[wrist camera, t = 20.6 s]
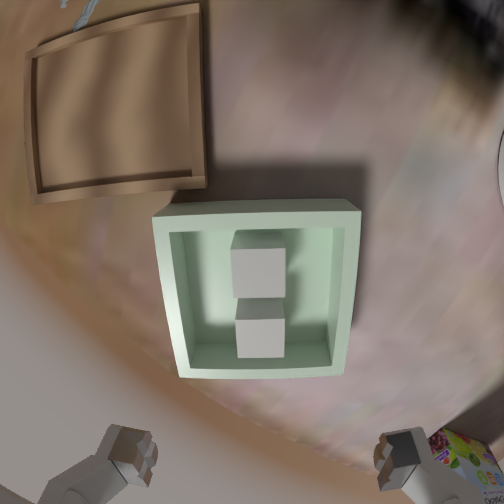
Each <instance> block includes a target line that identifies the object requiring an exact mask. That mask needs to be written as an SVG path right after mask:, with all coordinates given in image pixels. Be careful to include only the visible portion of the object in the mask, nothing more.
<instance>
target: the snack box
mask: <svg viewBox="0 0 504 504" xmlns="http://www.w3.org/2000/svg"><path fill="white" fill-rule="evenodd" d="M428 443H429V446H430V448H431V451H432V454H433V457H434V459H435V460H440V461H441V462H442V463H444V464H445V465H447V466H448V467H449V468H451V469H452V470H453V471H455V472H456V473H458V474H459V475H461V476H462V477H463V478H465V479H466V480H468V481H469V482H471V483H472V484H473V485H475V486H476V487H478V488H479V489H480V492H481V495H482V498H483V501H484V503H485V504H504V474H503V472H502V470H501V469H500V467H499V465H498V463H497V461H496V459H495V457H494V455H493V453H492V452H491V450H490V448H489V446H488V445H487V444H485V443H482V442H479V441H476V440H473V439H470V438H468V437H465V436H462V435H459V434H457V433H454V432H452V431H449V430H446V429H444V428H441V429H440V430H439V431H438V432H436V433H435V434H434V435H433V436H432V437H430V438H429V439H428Z"/></svg>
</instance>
